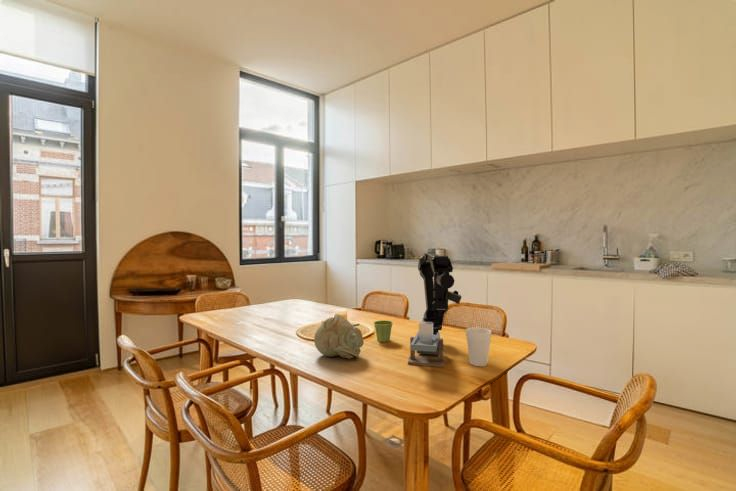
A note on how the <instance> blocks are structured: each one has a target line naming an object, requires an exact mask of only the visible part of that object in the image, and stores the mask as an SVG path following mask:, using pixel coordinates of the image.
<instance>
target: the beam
mask: <svg viewBox="0 0 736 491" xmlns="http://www.w3.org/2000/svg"><path fill="white" fill-rule="evenodd" d="M440 334H441V332H439V331H438V332H437V335H433V342H432V343H425V342H419V330H418V332H417V333H416V335H415V336H414V337H415V338H414V339H413V341H412V343H411V344H410V343H409V344H410V346H409V348H410V349H409V350H415V352H416V354H422V355H423V354H424V355H438V356H439V338H441V337H440Z"/></svg>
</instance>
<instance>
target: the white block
mask: <svg viewBox="0 0 736 491" xmlns="http://www.w3.org/2000/svg"><path fill="white" fill-rule="evenodd" d="M418 331H419V342H425V343H432V342H433V322H422V320H421V321H419V323H418Z"/></svg>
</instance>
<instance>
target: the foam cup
mask: <svg viewBox="0 0 736 491" xmlns="http://www.w3.org/2000/svg"><path fill="white" fill-rule="evenodd" d="M465 336H466V342H467V350H468V356H469V358H468V359H469V363H470V365H472V366H475V367H485V366H487V364H488V360H489V353H490V344H491V339H492V330H491V329H489V328H485V327H478V326H477V327H475V326H473V327H467V328H466V329H465Z"/></svg>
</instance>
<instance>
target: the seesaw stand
mask: <svg viewBox="0 0 736 491" xmlns="http://www.w3.org/2000/svg"><path fill="white" fill-rule="evenodd" d="M414 338H415V336H410V339H409V340H410V342H409V344H411V343H412V341H413V339H414ZM409 350H410V349H409ZM407 365H409V366H410V365H411V366H425V367H427V366H428V367H438V368H439V367H440V368H445V365H446V357H444V338H441V337H440V338H439V355H438V356H429V355H426V356H425V355H424V356H423V355H416V351H415V350H410V354H409V358H408V360H407Z"/></svg>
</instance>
